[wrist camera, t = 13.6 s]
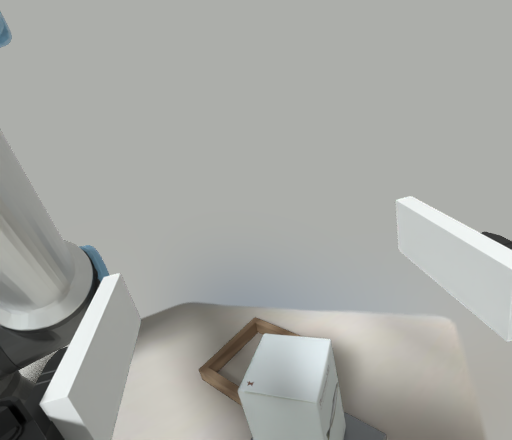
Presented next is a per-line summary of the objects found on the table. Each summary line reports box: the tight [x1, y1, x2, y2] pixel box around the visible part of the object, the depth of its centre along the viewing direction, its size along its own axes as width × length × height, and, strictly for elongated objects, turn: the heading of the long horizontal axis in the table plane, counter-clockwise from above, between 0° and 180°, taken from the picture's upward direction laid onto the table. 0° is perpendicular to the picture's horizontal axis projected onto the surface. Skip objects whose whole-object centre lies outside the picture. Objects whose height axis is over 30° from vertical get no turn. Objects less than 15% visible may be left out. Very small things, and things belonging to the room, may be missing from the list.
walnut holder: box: [199, 318, 302, 406], centre depth 50 cm, size 12×12×2 cm
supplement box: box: [238, 333, 346, 440], centre depth 34 cm, size 7×7×13 cm
